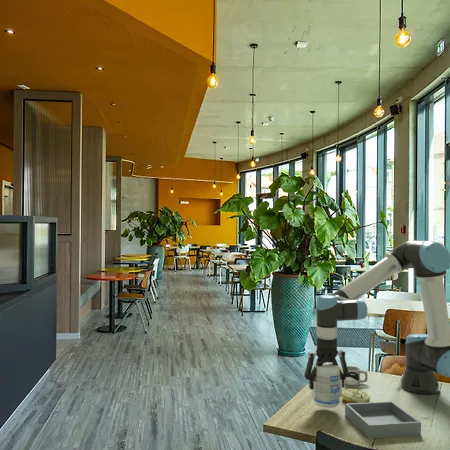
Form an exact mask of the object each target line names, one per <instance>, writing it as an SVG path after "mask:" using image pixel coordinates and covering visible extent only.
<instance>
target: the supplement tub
mask: <svg viewBox="0 0 450 450" xmlns="http://www.w3.org/2000/svg"><path fill="white" fill-rule="evenodd" d="M315 364H316V362H314V363H313V366H315V368H317V372H316V377H315V379H314V380H315V381H316V399H314V398H313V402H314V404H315V405H316V406H318V407H321V408H325V409H327V408H328V409H332V408H333V409H334V408H336V407H339V405H340V402H341V401H340V400H341V397H340V369H341V368H340V369H339V367H340V365H339V364H338V365H334V364H332V363H329V362H327V363H323V365H322V366H316V365H315Z"/></svg>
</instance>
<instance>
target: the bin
mask: <svg viewBox="0 0 450 450" xmlns="http://www.w3.org/2000/svg"><path fill="white" fill-rule="evenodd" d="M344 405H345V406H344V416H345V417H346V418H347V419H348V420H349V421H350V422H351V423H352V424H353V425H354V426H356V427H357V429H358V430H360V431H361V432H362V434H363V435H365V437H367V439H369V440H370V439H383V438H385V439H386V438H398V437H399V438H400V437H411V436H413V437H414V436H416V437H417V436H421V435H422V422H421V421H420V420H419V419H417V418H416V417H414V416H413V415H412V414H410V413H409V412H407V411H406V410H405V409H404V408H402V407H401V406H400V405H398V404H397V403H395V402H394V401H391V400H390V401H387V400H386V401H373V402H371V401H370V402H368V403H344Z"/></svg>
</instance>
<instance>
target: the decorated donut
mask: <svg viewBox="0 0 450 450" xmlns="http://www.w3.org/2000/svg"><path fill="white" fill-rule="evenodd" d="M341 398H342V399H343V401H344V402H345V403H347V404H349V403H368V402H371V399H370V398H371V395H370V394H369V393H368V392H366V391H364V390H361V389H357V388H348V389H345V390H342V397H341Z"/></svg>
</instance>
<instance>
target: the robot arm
mask: <svg viewBox="0 0 450 450" xmlns="http://www.w3.org/2000/svg"><path fill="white" fill-rule="evenodd" d="M449 265H450V251H449V249H448V248H447V247H446V246H445V245H444V244H442V243H441V242H437V241H433V240H416V239H414V240H413V239H412V240H408V241H404V242H402V243H401V244H399V245H397V246H395V247H394V248H392V249H391V250H389V251H388V252H386V253H385V254H384V255H383V258H382V259H381V260H379V261H378V262H376V263H375V264H374V265H372V266H371V267H369V268H367V269H366V270H365V271H363V272H362V273H361V274H360V275H358V276H356V277H355V278H353V279H352V280H351V281H349V282H348V283H346V284H345V285H344V286H342V287H340V288H339V289H338V290H336V291H335V292H334V293H326V294H322V295H319V296H317V299H316V307H315V309H316V336H317V337H316V350H315V351H313V352H311V351H309V352H308V353H307V354H308V359H307V364H306V367H305V372H304V375H303V377H304V378H305V379H306V381H307V380H308V383H309V384H308V385H309V386H308V387H309V390H311V397H312V399H313V400H314V399H316V381H315V380H314V379H315V377H316V372H317V368H315V366H314V364H315V363H316V364H315V365H316V366H322V365H323V363H327V362H329V363H332V364H334V365H339V363H338V361H337V359H336V357H339V361H340V365H341V367H340V366H339V369H340V398H343V397H342V392H343V388H344V387H345V383H344V380H345V379H346V377H349V373H348V369H347V366H348V365H347V362H346V352H345V351H344V350H338V338H337V337H338V322H341V321H343V322H344V321H359V320H364V319H366V317H367V316H368V306H367V305H368V304H367V303H366V301H364V300H363V299H360V298H362V297H363V296H365V295H366V294H368V293H369V292H370V291H372V290H373V289H375V288H376V287H377V286H379V285H381V284H382V283H383V282H384V281H386V280H387V279H389V278H391V277H392V276H393V275H394V274H401V273H402V272H403V271H405V270H408V269H413V274H414V277H415V278H416V279H417V280H418V281H419V285H420V291H421V298H422V300H421V301H422V305H423V312H424V319H425V325H426V326H425V327H426V333H427V334H425V333H413V334H408V335H407V336H406V339H405V367H404V368H405V369H404V372H403V374H402V377H401V379H400V387H401V388H402V389H403V390H405V391H408V392H410V393H414V394H420V395H433V394H438V393H439V391H440V386H439V385H440V384H439V381H438V379H437V375H436V373H437V374H438V375H440V376H443V377H444V376H445V377H447V378H450V318H449V311H448V305H447V299H446V291H445V290H446V289H445V286H444V285H445V284H444V277H445V276H446V275H447V270H448V268H449V267H450V266H449ZM316 356H317V359H316ZM315 359H316V362H315ZM313 366H314V367H313Z"/></svg>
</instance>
